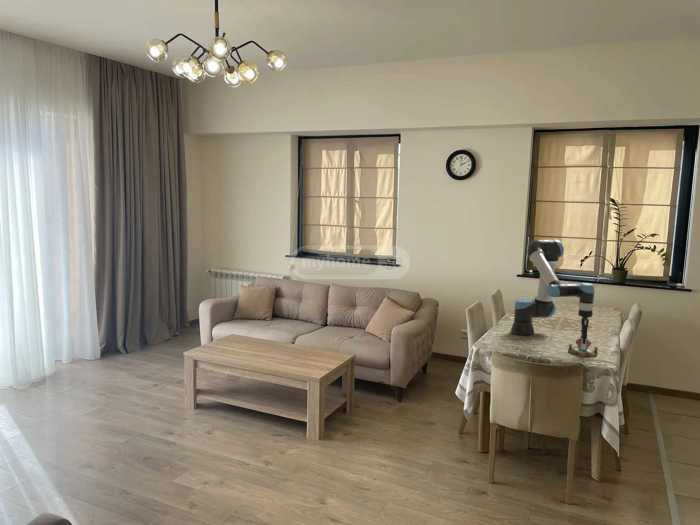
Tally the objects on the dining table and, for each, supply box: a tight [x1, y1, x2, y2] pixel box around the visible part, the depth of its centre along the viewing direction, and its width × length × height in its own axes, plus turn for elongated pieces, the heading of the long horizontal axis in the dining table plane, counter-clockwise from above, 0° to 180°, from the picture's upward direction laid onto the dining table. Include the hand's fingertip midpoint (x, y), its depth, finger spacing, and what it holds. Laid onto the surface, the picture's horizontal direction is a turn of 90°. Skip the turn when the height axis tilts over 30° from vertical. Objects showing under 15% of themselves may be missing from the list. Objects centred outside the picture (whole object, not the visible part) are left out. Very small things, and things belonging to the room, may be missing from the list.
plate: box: [567, 343, 599, 358], centre depth 313 cm, size 16×16×4 cm
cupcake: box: [575, 337, 592, 351], centre depth 312 cm, size 9×8×12 cm
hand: (583, 346), depth 313 cm, fingers open, 9 cm apart
